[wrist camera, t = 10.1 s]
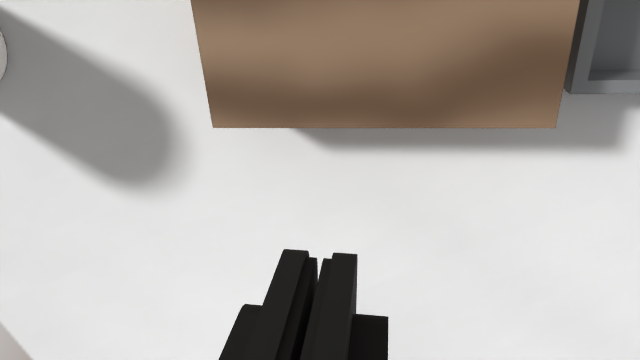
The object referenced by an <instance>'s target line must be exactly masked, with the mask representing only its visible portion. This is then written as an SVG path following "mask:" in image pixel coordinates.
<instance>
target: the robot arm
mask: <svg viewBox="0 0 640 360" xmlns="http://www.w3.org/2000/svg"><path fill="white" fill-rule="evenodd" d="M356 293H357V254H346V253H333V256H332V259H326V258H324V259H323V262H322V267H321V271H320V275H319V279H318V269H317V258H313V257H309V252H308V251H304V250H290V249H284V250H283V252H282V255H281V257H280V260H279V263H278V265H277V268H276V271H275V273H274V276H273V279H272V281H271V284H270V287H269V289H268V292H267V295H266V297H265V300H264V303H263V305H262V306H261V305H250V304H245V305H243V306H242V308H241V310H240V312H239V314H238V316H237V319H236V321H235V323H234V326H233V328H232V330H231V332H230V335H229V337H228V339H227V342H226V344H225V346H224V349H223V351H222V353H221V355H220V358H219V360H388V317H385V316H374V315H363V314H356Z"/></svg>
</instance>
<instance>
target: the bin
mask: <svg viewBox="0 0 640 360" xmlns="http://www.w3.org/2000/svg"><path fill="white" fill-rule="evenodd" d="M563 88H564V89H565V90H566V91H567V92H568V93H569V94H632V93H640V0H580V3H579V8H578V13H577V18H576V24H575V29H574V34H573V39H572V44H571V50H570V55H569V60H568V65H567V70H566V76H565V81H564V86H563Z"/></svg>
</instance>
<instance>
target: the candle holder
mask: <svg viewBox="0 0 640 360" xmlns="http://www.w3.org/2000/svg"><path fill="white" fill-rule="evenodd" d="M6 65H7V50H6V44H5V41H4V38H3V35H2V32H1V30H0V80H1V78H2V77H3V75H4V72H5V70H6Z"/></svg>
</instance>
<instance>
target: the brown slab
mask: <svg viewBox="0 0 640 360" xmlns="http://www.w3.org/2000/svg"><path fill="white" fill-rule="evenodd" d="M579 3H580V0H191V6H192V11H193V17H194V23H195V28H196V34H197V40H198V45H199V51H200V57H201V63H202V68H203V74H204V80H205V85H206V91H207V97H208V102H209V108H210V114H211V120H212V125H213V128H556V123H557V117H558V112H559V107H560V102H561V97H562V91H563V86H564V81H565V76H566V70H567V65H568V60H569V55H570V50H571V44H572V39H573V34H574V29H575V24H576V18H577V13H578V8H579Z"/></svg>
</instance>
